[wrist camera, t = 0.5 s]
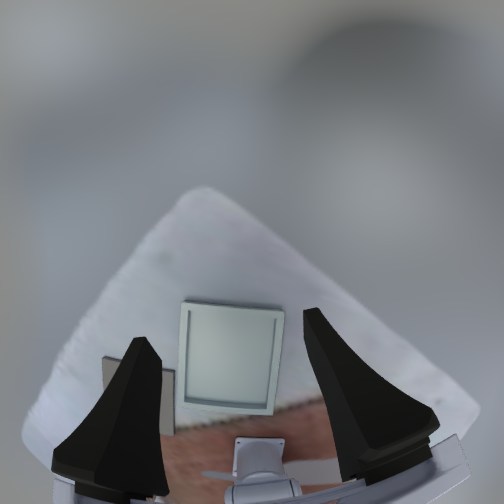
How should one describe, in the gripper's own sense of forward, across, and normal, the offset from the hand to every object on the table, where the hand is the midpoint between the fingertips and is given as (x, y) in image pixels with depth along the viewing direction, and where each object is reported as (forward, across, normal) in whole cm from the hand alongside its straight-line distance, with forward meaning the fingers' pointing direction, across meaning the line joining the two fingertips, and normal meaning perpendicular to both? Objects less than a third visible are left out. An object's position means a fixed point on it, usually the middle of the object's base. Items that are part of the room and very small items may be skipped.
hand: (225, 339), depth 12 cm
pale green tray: (+15, +4, +24) cm, 29 cm away
